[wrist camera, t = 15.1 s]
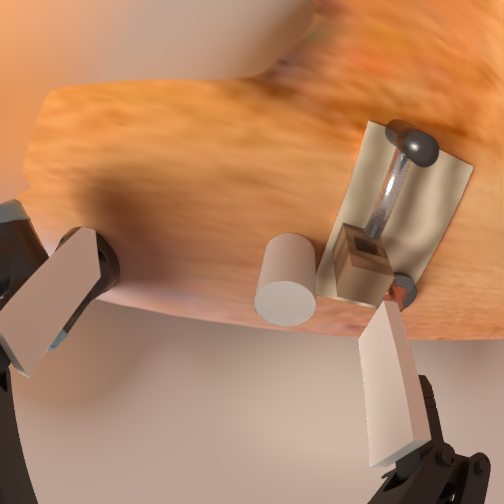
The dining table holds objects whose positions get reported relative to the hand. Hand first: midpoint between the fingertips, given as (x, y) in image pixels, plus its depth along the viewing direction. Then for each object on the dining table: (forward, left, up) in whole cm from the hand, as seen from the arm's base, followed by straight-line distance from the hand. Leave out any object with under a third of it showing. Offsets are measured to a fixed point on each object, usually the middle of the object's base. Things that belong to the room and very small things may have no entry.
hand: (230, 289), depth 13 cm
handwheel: (+25, -19, -30) cm, 43 cm away
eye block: (+20, -9, -32) cm, 38 cm away
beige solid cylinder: (+6, -18, -32) cm, 37 cm away
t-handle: (+15, 0, -30) cm, 34 cm away
